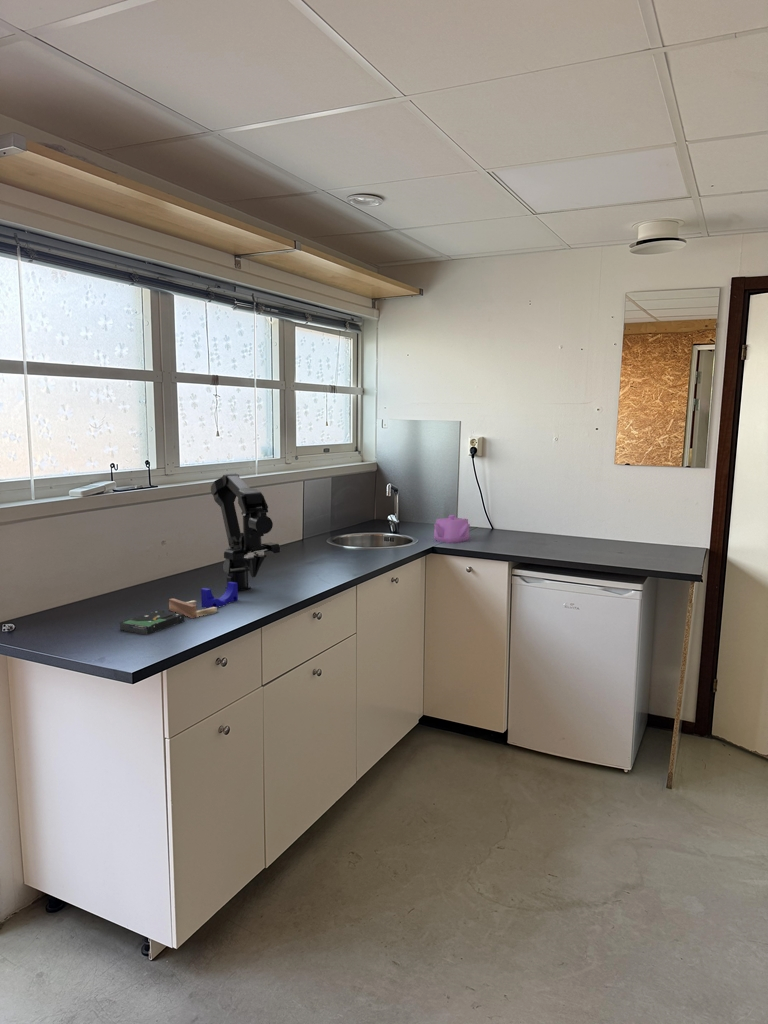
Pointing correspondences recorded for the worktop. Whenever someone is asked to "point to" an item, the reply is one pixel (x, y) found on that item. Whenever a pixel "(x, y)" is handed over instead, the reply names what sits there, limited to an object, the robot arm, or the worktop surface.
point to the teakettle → (451, 529)
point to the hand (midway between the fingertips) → (253, 577)
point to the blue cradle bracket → (228, 597)
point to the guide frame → (189, 608)
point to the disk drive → (151, 622)
